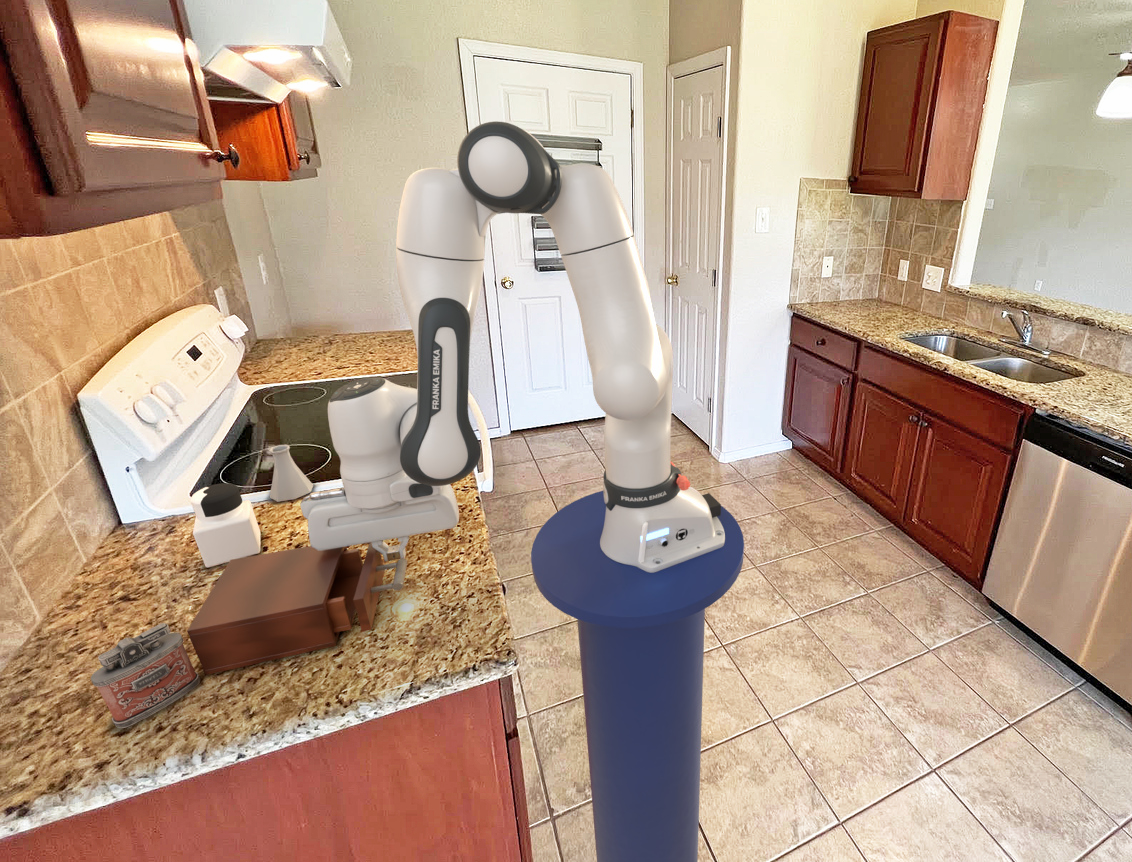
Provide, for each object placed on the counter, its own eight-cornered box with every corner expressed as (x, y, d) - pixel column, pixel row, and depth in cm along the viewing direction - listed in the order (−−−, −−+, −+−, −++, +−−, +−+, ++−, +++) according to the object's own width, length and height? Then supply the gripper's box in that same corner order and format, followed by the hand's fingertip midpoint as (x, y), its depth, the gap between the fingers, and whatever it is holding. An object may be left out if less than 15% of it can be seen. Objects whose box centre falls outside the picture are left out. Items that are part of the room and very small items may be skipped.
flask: (272, 506, 109) (258, 460, 106) (267, 490, 114) (253, 446, 110) (317, 493, 114) (305, 449, 110) (310, 479, 119) (298, 436, 115)
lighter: (121, 733, 67) (88, 670, 63) (109, 719, 68) (76, 657, 64) (205, 683, 73) (180, 623, 69) (193, 671, 75) (167, 612, 71)
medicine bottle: (261, 532, 102) (241, 474, 97) (260, 553, 97) (240, 493, 92) (209, 546, 98) (186, 486, 93) (206, 569, 93) (181, 506, 88)
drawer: (413, 565, 94) (407, 536, 92) (404, 622, 82) (397, 590, 80) (285, 589, 88) (275, 559, 86) (256, 655, 76) (244, 622, 74)
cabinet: (355, 578, 92) (345, 540, 89) (335, 646, 79) (323, 603, 76) (245, 600, 87) (230, 559, 84) (205, 675, 74) (186, 630, 71)
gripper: (291, 506, 80) (314, 585, 85) (451, 483, 87) (463, 557, 92) (303, 483, 85) (324, 559, 90) (452, 463, 92) (464, 534, 97)
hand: (395, 557), depth 91 cm, fingers closed
